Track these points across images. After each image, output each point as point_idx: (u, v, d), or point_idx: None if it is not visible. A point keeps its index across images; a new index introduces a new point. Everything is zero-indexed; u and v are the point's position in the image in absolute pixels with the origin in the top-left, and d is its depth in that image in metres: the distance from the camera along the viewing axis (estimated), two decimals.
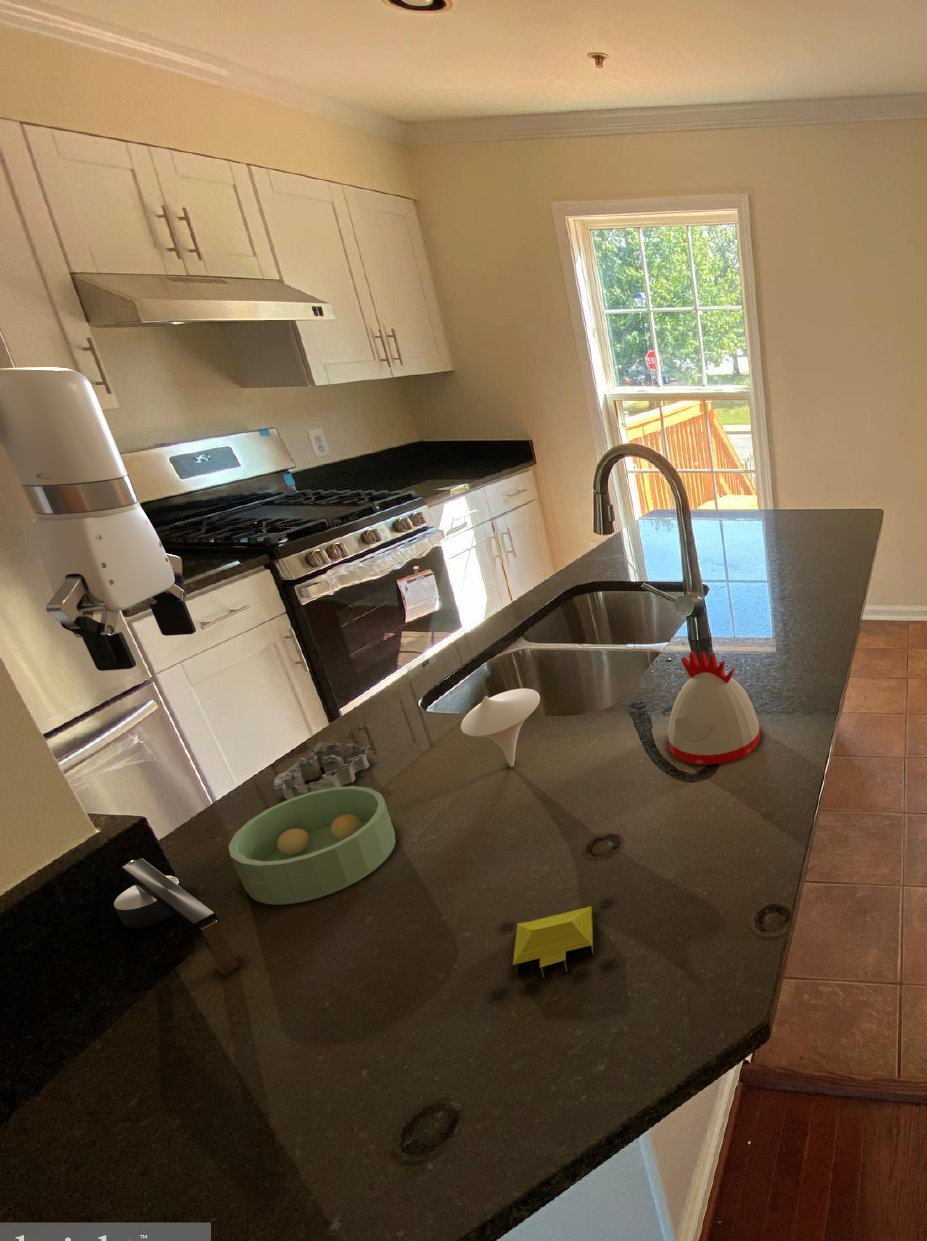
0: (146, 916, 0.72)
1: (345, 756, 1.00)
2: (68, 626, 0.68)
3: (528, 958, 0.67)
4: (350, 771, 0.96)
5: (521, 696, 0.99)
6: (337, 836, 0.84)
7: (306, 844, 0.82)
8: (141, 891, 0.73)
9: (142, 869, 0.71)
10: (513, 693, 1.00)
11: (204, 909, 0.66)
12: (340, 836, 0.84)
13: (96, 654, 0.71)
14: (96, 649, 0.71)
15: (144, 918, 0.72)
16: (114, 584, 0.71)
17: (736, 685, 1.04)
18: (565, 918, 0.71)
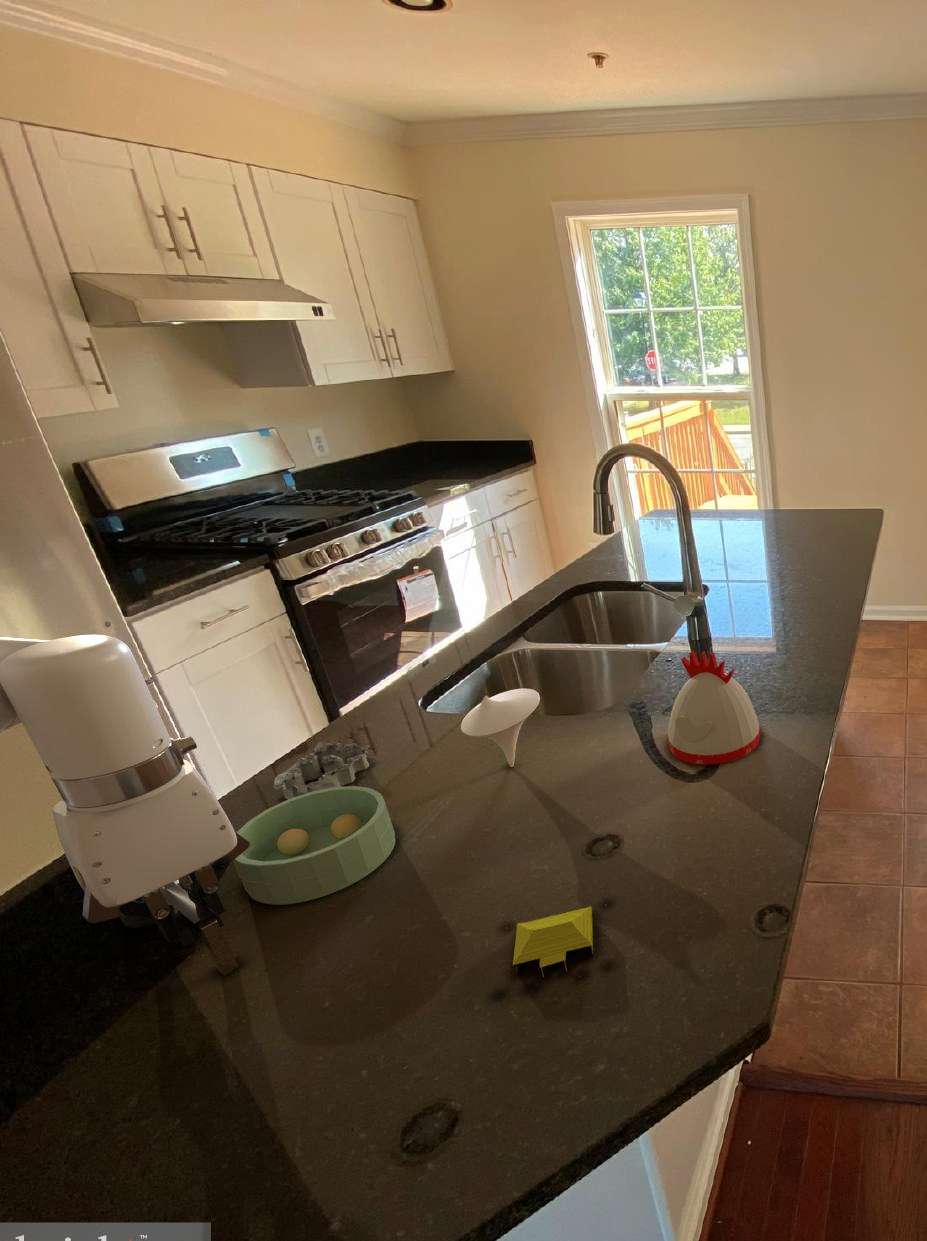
0: None
1: (345, 756, 1.00)
2: None
3: (528, 958, 0.67)
4: (350, 771, 0.96)
5: (521, 696, 0.99)
6: (337, 836, 0.84)
7: (306, 844, 0.82)
8: None
9: None
10: (513, 693, 1.00)
11: (204, 909, 0.66)
12: (340, 836, 0.84)
13: (159, 927, 0.66)
14: (158, 923, 0.66)
15: (144, 918, 0.72)
16: (112, 881, 0.60)
17: (736, 685, 1.04)
18: (565, 918, 0.71)
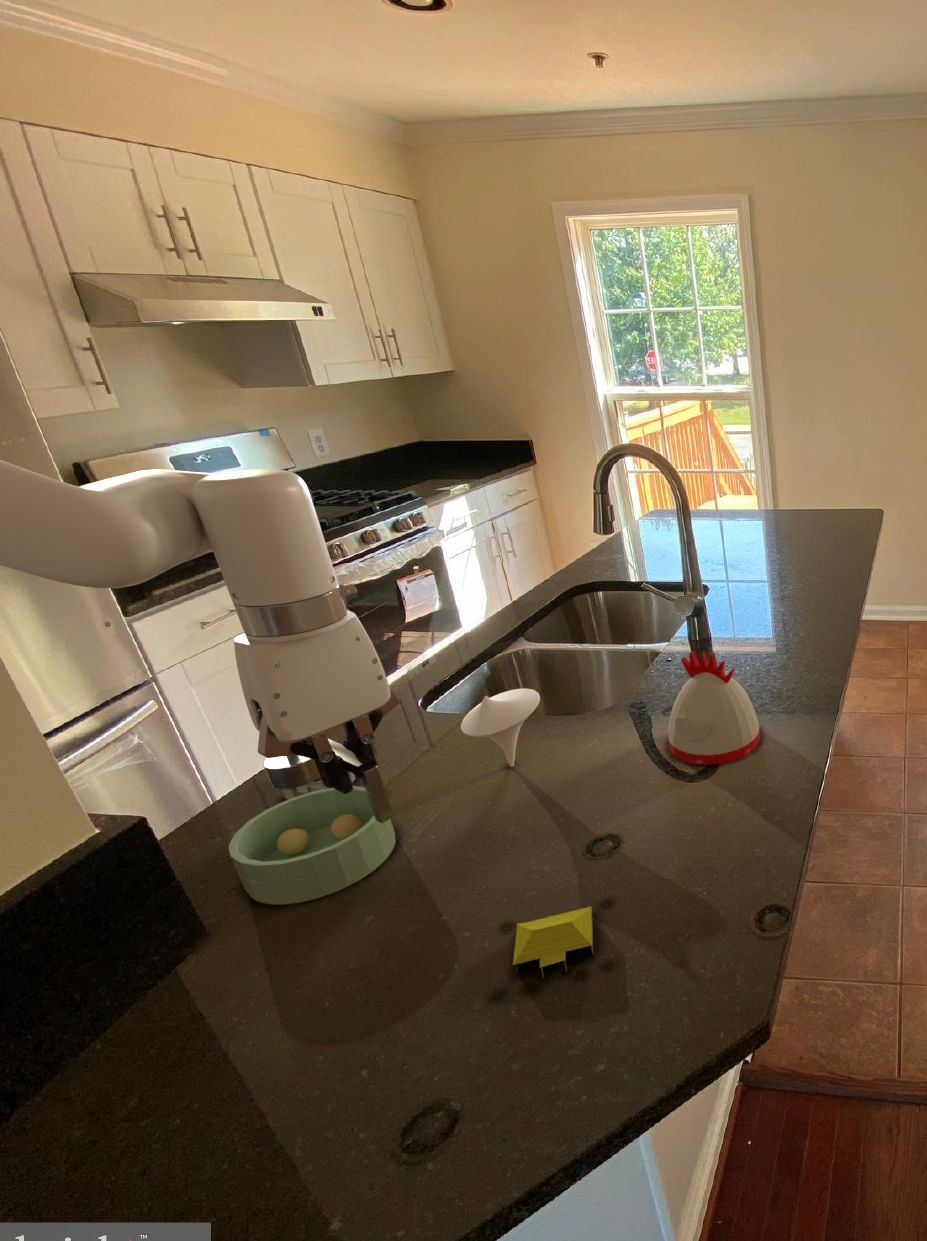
0: (295, 777, 0.74)
1: None
2: None
3: (528, 958, 0.67)
4: None
5: (521, 696, 0.99)
6: (337, 836, 0.84)
7: (306, 844, 0.82)
8: None
9: None
10: (513, 693, 1.00)
11: (364, 756, 0.67)
12: (340, 836, 0.84)
13: (320, 774, 0.67)
14: (320, 770, 0.67)
15: (293, 779, 0.74)
16: (288, 715, 0.62)
17: (736, 685, 1.04)
18: (565, 918, 0.71)
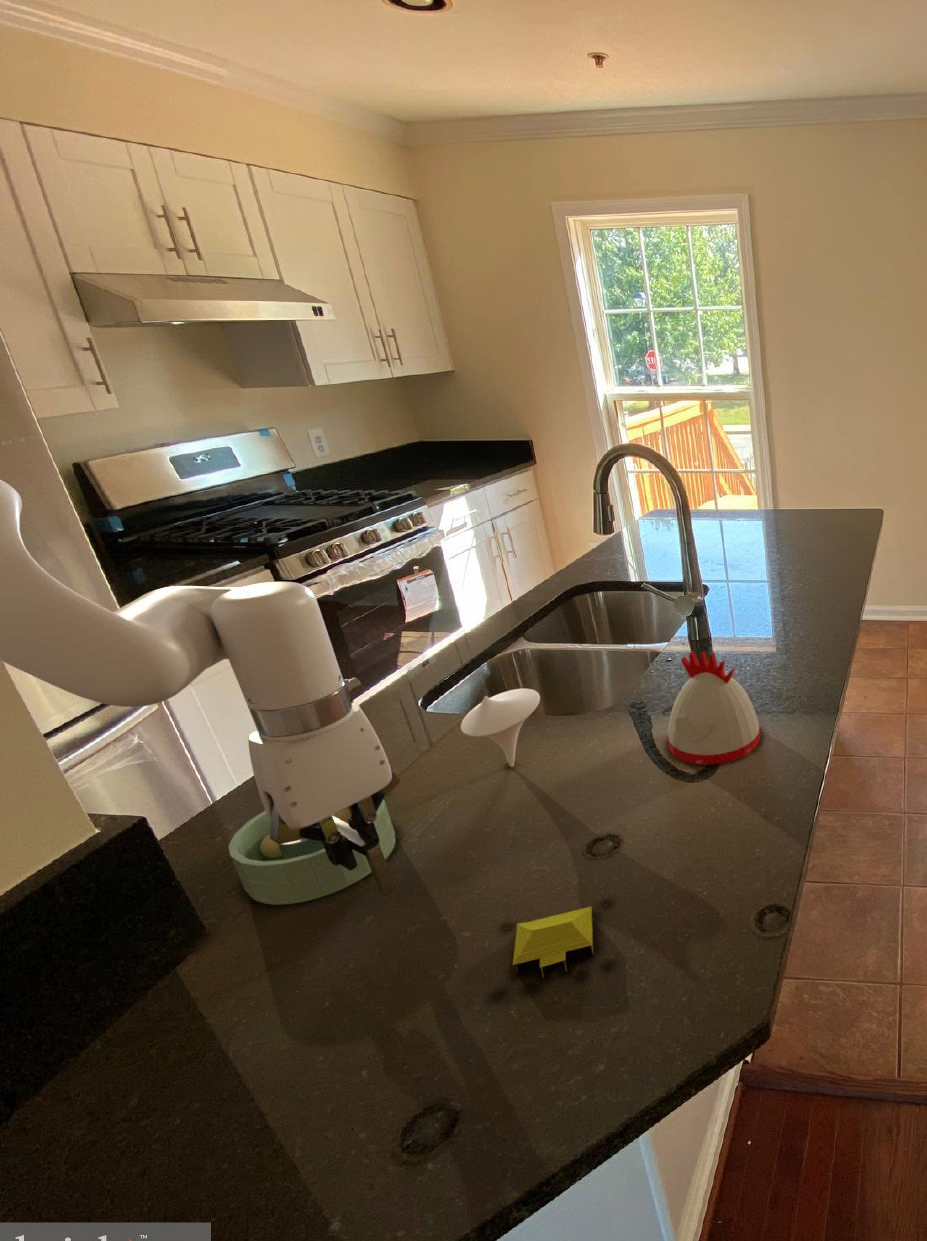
0: (305, 851, 0.79)
1: None
2: None
3: (528, 958, 0.67)
4: None
5: (521, 696, 0.99)
6: None
7: None
8: None
9: None
10: (513, 693, 1.00)
11: (367, 835, 0.73)
12: None
13: (327, 853, 0.73)
14: (327, 849, 0.72)
15: (303, 852, 0.79)
16: (298, 805, 0.67)
17: (736, 685, 1.04)
18: (565, 918, 0.71)
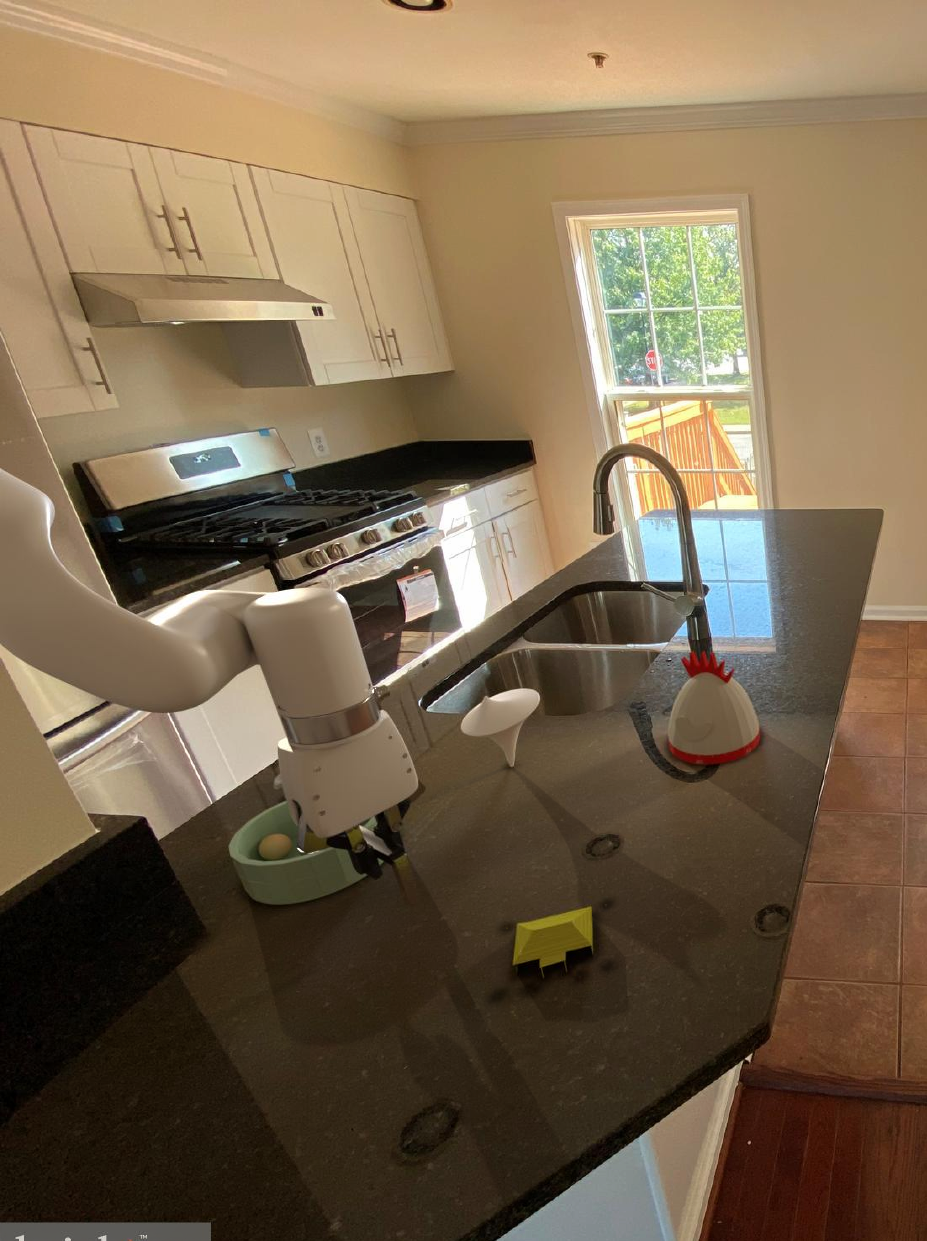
0: None
1: None
2: None
3: (528, 958, 0.67)
4: None
5: (521, 696, 0.99)
6: None
7: (277, 845, 0.80)
8: None
9: None
10: (513, 693, 1.00)
11: (393, 844, 0.72)
12: None
13: (353, 861, 0.72)
14: (352, 858, 0.71)
15: None
16: (326, 814, 0.66)
17: (736, 685, 1.04)
18: (565, 918, 0.71)
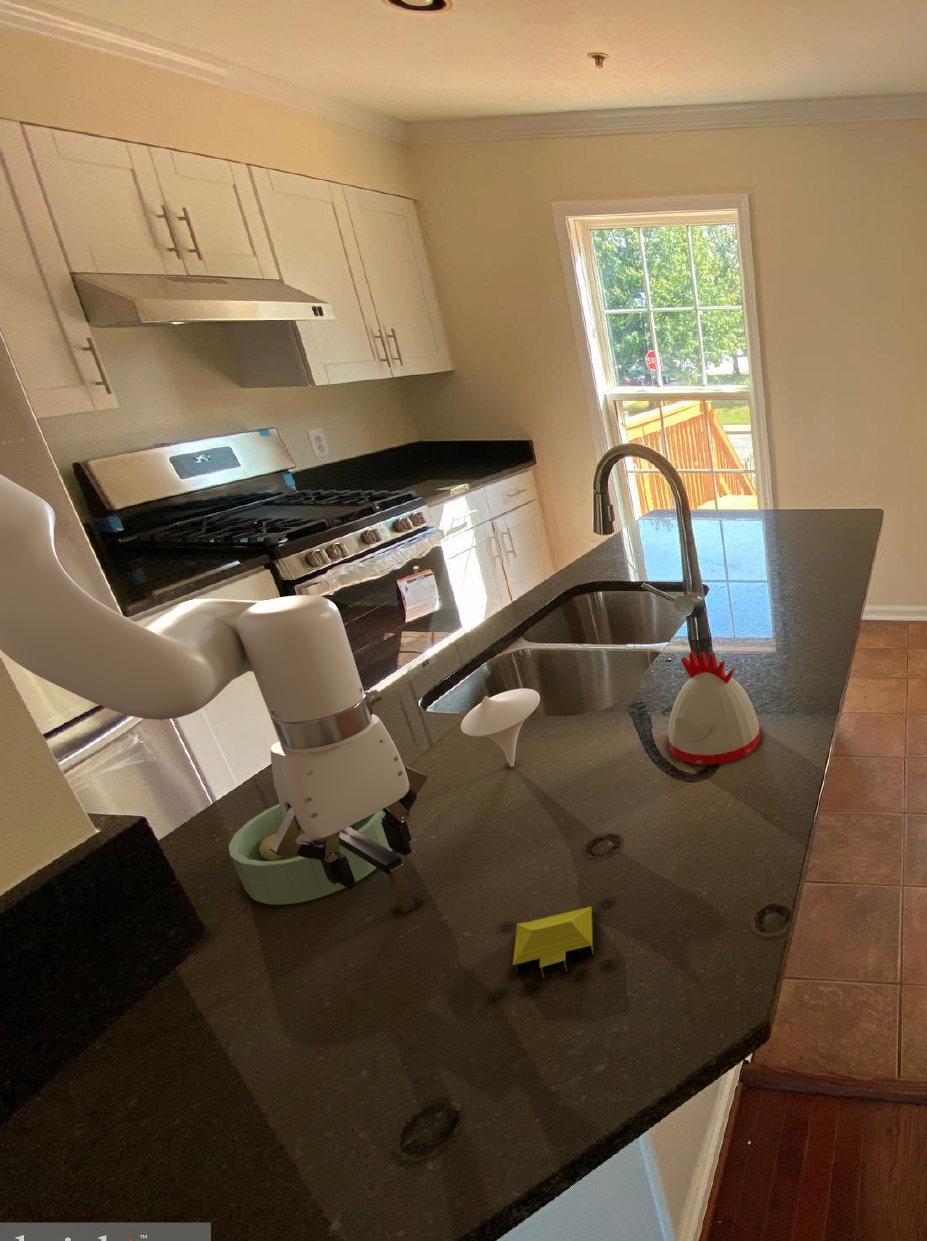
0: None
1: None
2: None
3: (528, 958, 0.67)
4: None
5: (521, 696, 0.99)
6: None
7: None
8: None
9: None
10: (513, 693, 1.00)
11: (390, 853, 0.74)
12: None
13: (325, 871, 0.72)
14: (325, 867, 0.71)
15: None
16: (318, 816, 0.68)
17: (736, 685, 1.04)
18: (565, 918, 0.71)
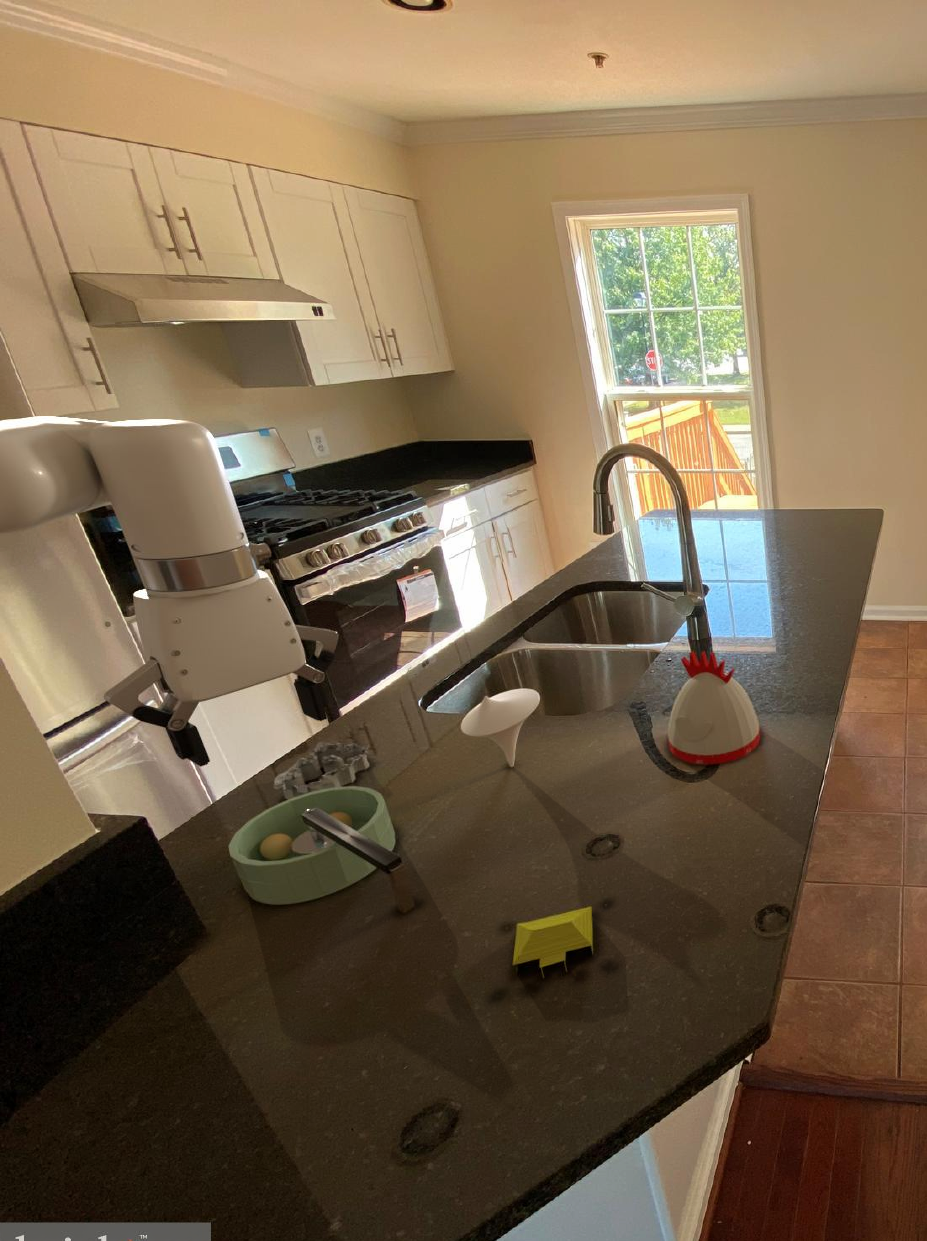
0: None
1: (345, 756, 1.00)
2: None
3: (528, 958, 0.67)
4: (351, 771, 0.96)
5: (521, 696, 0.99)
6: None
7: (280, 846, 0.80)
8: (315, 837, 0.80)
9: (321, 817, 0.78)
10: (513, 693, 1.00)
11: (390, 853, 0.74)
12: None
13: (173, 744, 0.62)
14: (172, 739, 0.62)
15: None
16: (189, 674, 0.60)
17: (736, 685, 1.04)
18: (565, 918, 0.71)
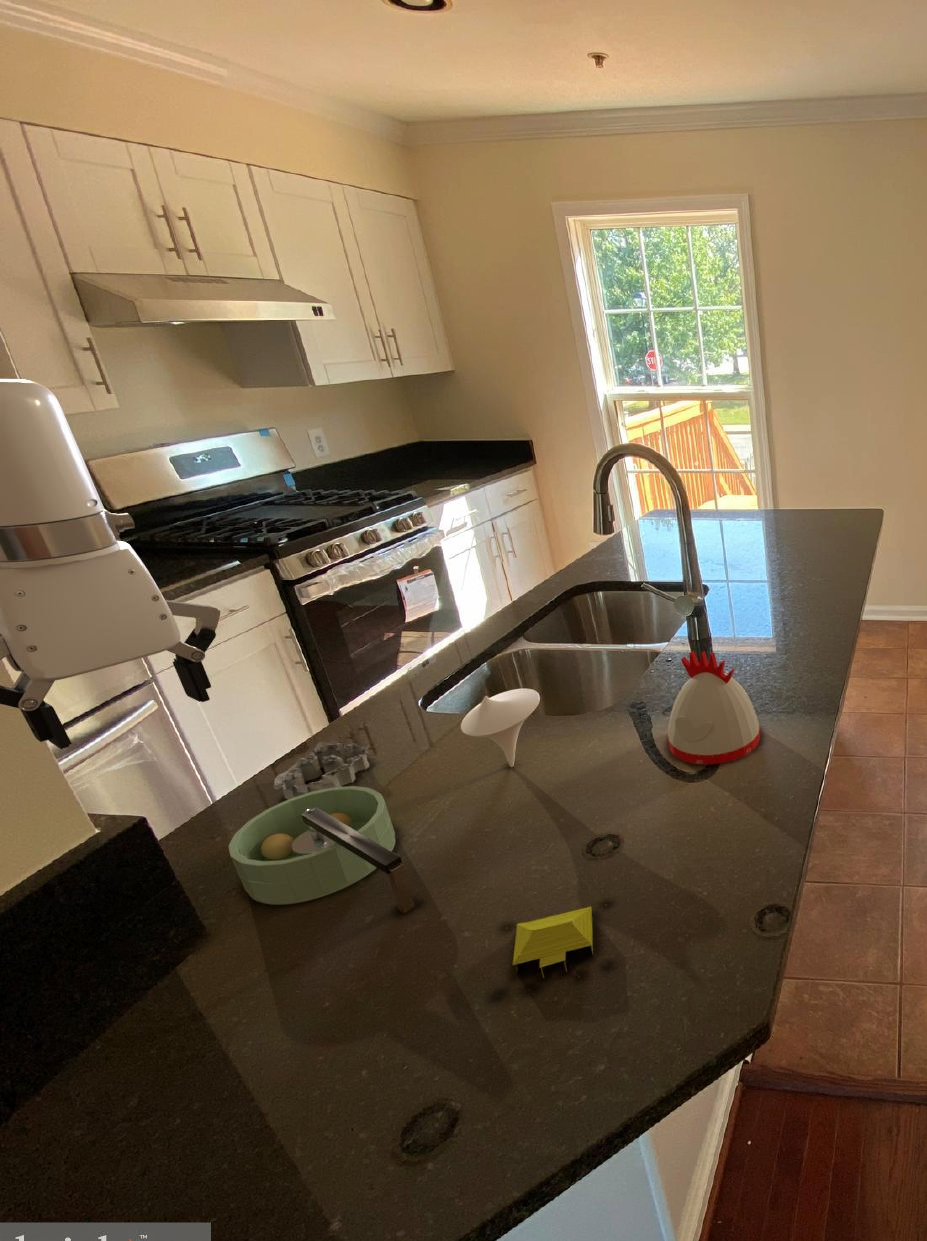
0: None
1: (345, 756, 1.00)
2: None
3: (528, 958, 0.67)
4: (351, 771, 0.96)
5: (521, 696, 0.99)
6: None
7: (281, 846, 0.80)
8: (315, 837, 0.80)
9: (321, 817, 0.78)
10: (513, 693, 1.00)
11: (390, 853, 0.74)
12: None
13: (29, 726, 0.59)
14: (28, 720, 0.58)
15: None
16: (39, 650, 0.57)
17: (736, 685, 1.04)
18: (565, 918, 0.71)
